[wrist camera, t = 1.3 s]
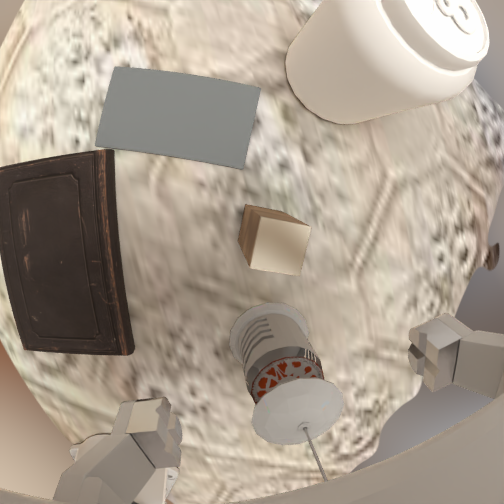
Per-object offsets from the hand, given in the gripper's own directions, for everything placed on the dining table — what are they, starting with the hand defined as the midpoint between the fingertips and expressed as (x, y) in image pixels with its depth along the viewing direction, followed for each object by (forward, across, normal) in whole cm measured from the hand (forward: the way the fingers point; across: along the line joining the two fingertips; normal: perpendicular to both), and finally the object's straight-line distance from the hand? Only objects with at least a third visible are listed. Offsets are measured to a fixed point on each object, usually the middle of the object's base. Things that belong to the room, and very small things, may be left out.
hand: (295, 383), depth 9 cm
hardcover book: (+25, +21, -2) cm, 33 cm away
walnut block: (+25, -2, 0) cm, 25 cm away
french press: (+25, 0, +15) cm, 29 cm away
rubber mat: (+25, +4, -13) cm, 29 cm away
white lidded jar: (+26, -15, -15) cm, 33 cm away
